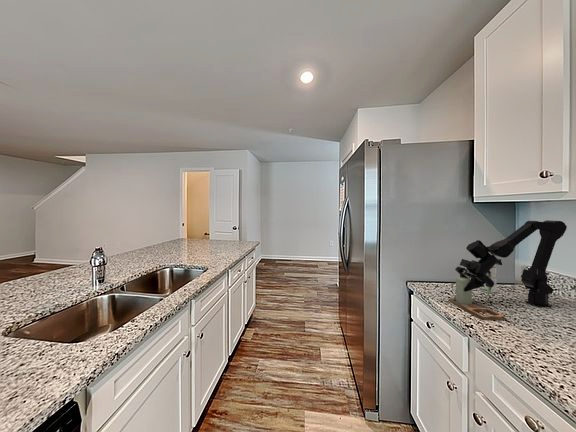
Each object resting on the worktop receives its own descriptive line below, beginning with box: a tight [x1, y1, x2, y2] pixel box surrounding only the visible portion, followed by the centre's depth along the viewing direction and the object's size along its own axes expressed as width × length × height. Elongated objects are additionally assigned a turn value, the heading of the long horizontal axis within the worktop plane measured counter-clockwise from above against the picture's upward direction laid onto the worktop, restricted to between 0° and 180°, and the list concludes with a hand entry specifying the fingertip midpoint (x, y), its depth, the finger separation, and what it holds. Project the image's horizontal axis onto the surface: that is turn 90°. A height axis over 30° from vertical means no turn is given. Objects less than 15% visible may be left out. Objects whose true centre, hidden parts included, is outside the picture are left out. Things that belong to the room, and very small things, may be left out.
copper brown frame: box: [448, 298, 506, 321], centre depth 115 cm, size 9×22×1 cm, turn 0°
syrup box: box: [478, 264, 497, 294], centre depth 140 cm, size 6×6×14 cm
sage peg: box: [455, 277, 473, 305], centre depth 122 cm, size 4×4×12 cm
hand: (460, 289), depth 121 cm, fingers closed on sage peg, 4 cm apart
